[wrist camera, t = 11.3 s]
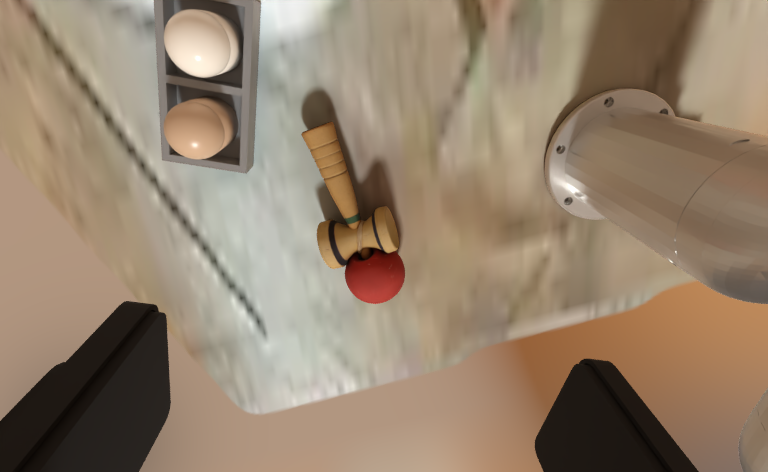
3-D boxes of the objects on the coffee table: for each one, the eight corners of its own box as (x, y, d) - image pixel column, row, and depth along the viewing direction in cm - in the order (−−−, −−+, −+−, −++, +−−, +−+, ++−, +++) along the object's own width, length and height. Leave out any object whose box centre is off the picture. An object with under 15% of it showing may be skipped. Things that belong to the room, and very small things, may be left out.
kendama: (275, 142, 37) (346, 301, 43) (269, 144, 31) (352, 329, 37) (351, 113, 38) (411, 274, 43) (359, 109, 32) (427, 296, 37)
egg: (243, 15, 31) (218, 12, 25) (246, 74, 33) (223, 84, 27) (184, 7, 30) (146, 3, 25) (191, 69, 32) (157, 77, 27)
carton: (260, 2, 31) (237, -8, 25) (253, 165, 37) (232, 189, 31) (167, -18, 30) (120, -34, 24) (174, 153, 36) (137, 174, 30)
